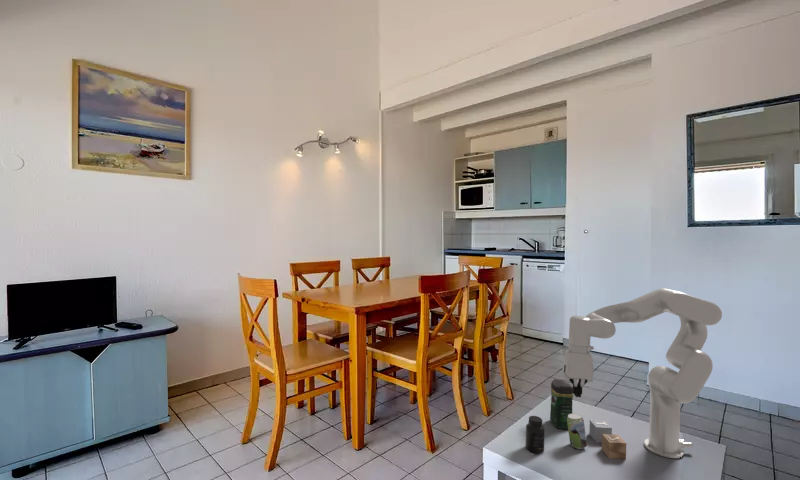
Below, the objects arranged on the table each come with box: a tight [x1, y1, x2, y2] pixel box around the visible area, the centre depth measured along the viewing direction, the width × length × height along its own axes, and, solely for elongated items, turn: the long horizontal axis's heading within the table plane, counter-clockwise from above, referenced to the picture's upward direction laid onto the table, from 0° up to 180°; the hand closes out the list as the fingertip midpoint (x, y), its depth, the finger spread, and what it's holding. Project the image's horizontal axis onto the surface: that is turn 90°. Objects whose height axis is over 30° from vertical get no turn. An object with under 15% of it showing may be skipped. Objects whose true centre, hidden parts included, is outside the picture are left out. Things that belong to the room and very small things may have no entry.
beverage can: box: [567, 412, 588, 450], centre depth 149 cm, size 6×7×12 cm
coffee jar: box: [549, 378, 574, 430], centre depth 166 cm, size 10×8×19 cm
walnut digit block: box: [601, 433, 627, 460], centre depth 144 cm, size 6×6×6 cm
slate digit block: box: [588, 419, 613, 443], centre depth 155 cm, size 6×6×6 cm
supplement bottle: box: [524, 415, 546, 455], centre depth 146 cm, size 7×7×12 cm
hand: (577, 395), depth 149 cm, fingers closed
